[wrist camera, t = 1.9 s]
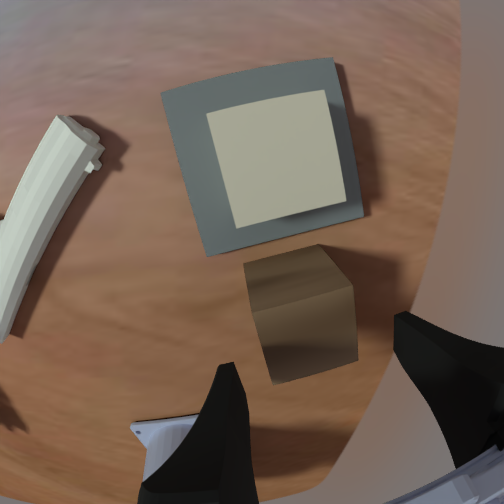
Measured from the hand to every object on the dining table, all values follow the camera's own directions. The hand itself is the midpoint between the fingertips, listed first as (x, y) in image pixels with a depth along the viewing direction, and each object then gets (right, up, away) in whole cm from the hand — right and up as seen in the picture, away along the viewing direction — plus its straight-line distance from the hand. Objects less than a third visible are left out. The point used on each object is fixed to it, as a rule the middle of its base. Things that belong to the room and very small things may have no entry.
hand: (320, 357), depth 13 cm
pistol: (-21, +6, +4) cm, 22 cm away
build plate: (-2, +10, +4) cm, 10 cm away
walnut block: (-1, +2, +6) cm, 7 cm away
